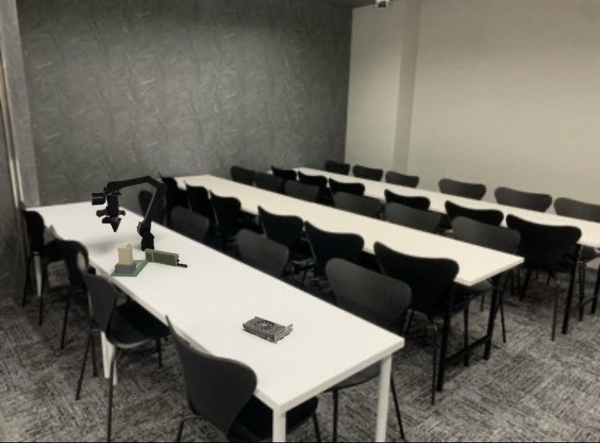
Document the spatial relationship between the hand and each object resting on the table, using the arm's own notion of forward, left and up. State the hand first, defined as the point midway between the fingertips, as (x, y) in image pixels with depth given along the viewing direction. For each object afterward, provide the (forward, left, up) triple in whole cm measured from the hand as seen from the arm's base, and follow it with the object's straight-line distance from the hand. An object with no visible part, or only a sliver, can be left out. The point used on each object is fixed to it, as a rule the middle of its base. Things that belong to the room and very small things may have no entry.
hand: (115, 232), depth 244 cm
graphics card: (-61, +101, -13) cm, 119 cm away
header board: (-8, +25, -12) cm, 29 cm away
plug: (-7, +30, -11) cm, 32 cm away
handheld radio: (-26, +22, -12) cm, 36 cm away
